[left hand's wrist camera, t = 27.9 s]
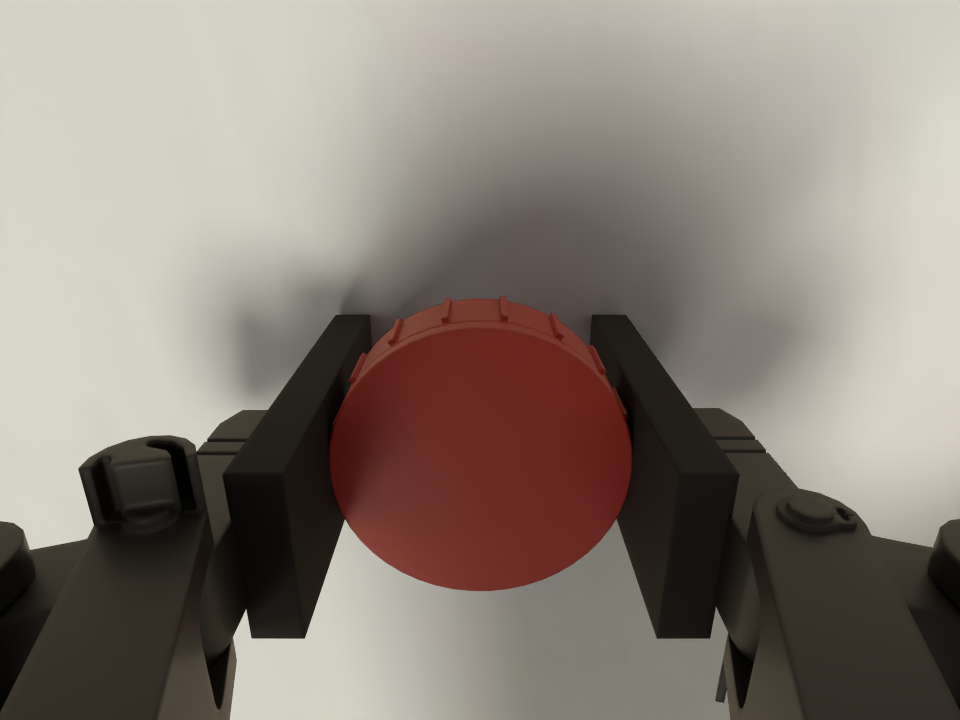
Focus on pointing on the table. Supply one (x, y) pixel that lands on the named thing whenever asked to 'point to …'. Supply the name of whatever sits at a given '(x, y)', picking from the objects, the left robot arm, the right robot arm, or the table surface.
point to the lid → (480, 446)
